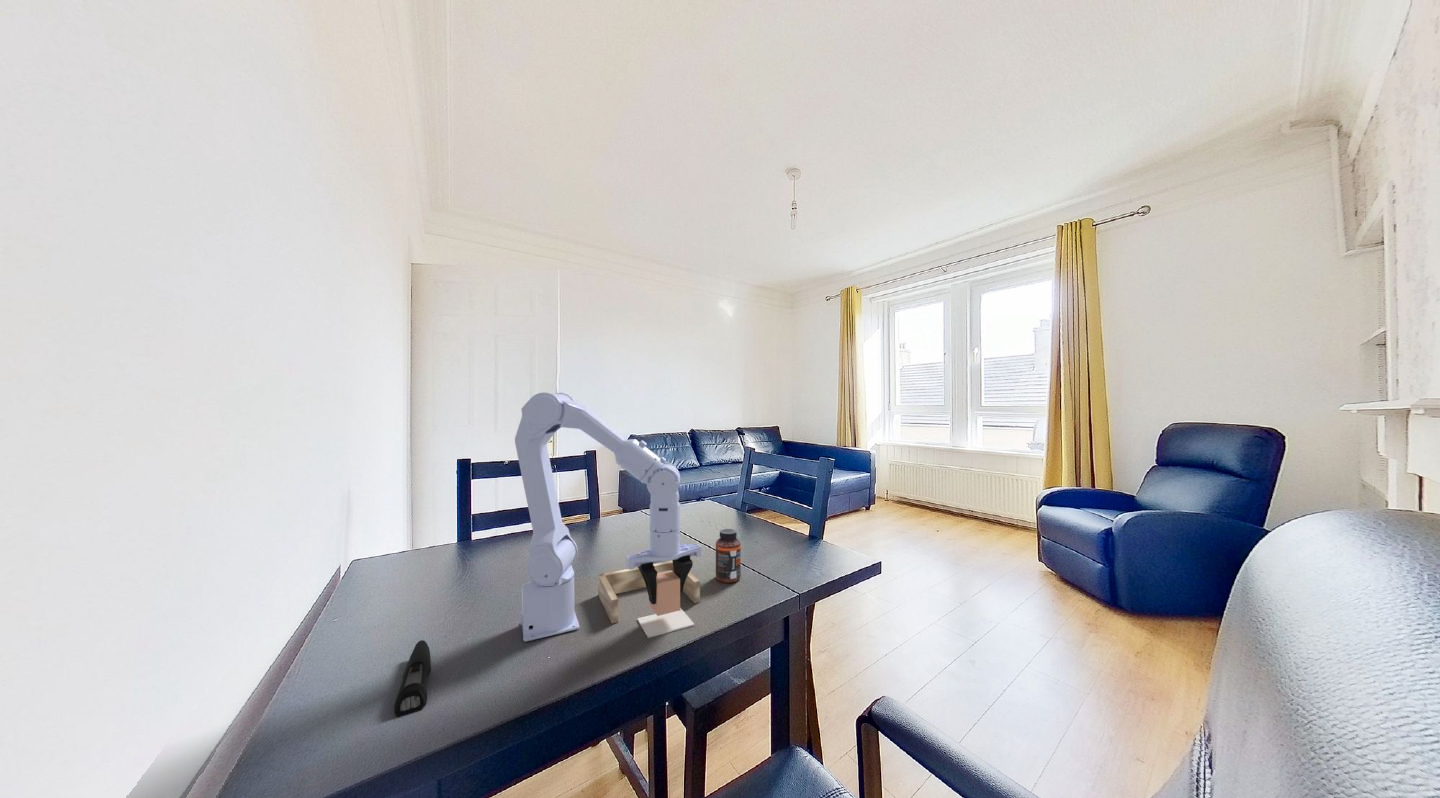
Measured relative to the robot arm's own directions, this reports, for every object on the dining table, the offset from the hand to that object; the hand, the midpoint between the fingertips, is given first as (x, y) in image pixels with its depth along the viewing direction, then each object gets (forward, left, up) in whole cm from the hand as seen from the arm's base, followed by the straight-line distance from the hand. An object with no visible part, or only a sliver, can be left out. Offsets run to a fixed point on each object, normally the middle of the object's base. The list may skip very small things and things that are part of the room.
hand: (665, 599), depth 82 cm
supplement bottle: (+20, +12, -5) cm, 24 cm away
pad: (0, 0, -5) cm, 5 cm away
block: (0, 0, -2) cm, 2 cm away
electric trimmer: (-40, +1, -5) cm, 40 cm away
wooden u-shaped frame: (0, +11, -5) cm, 12 cm away
